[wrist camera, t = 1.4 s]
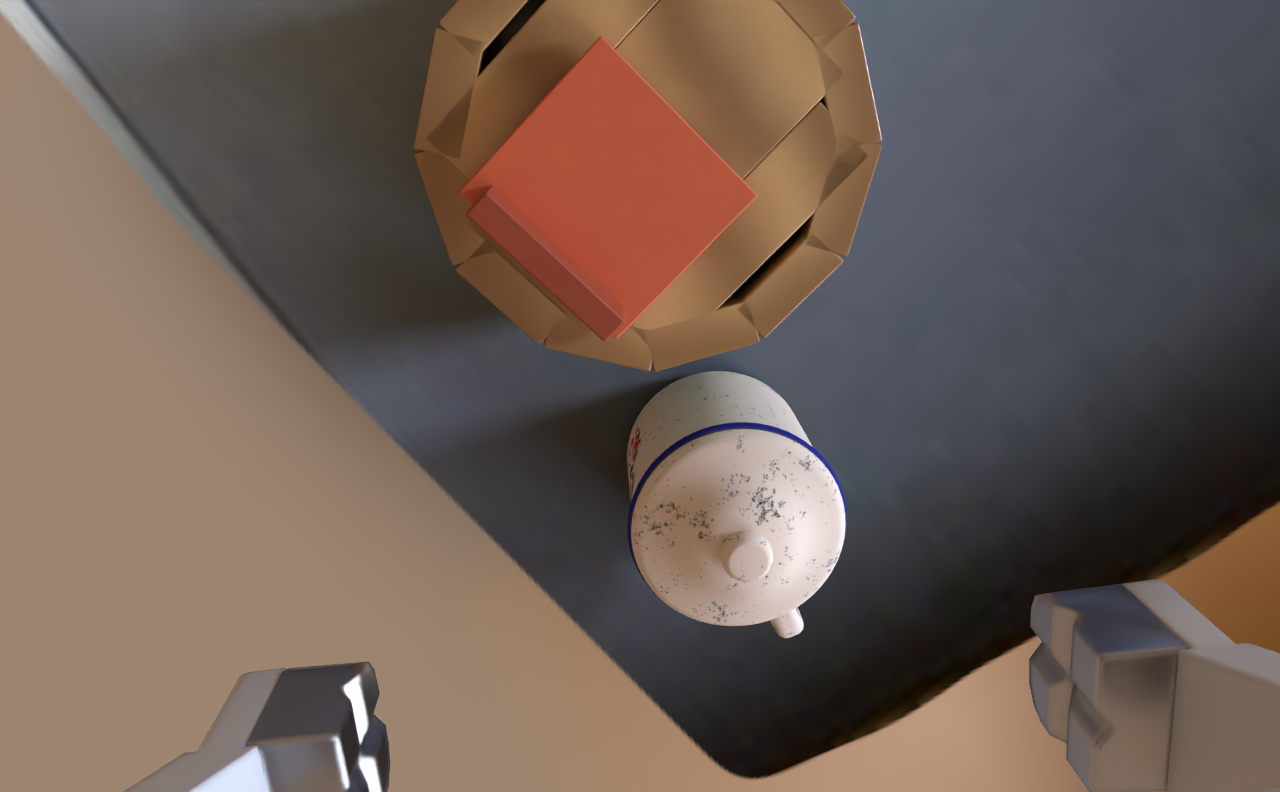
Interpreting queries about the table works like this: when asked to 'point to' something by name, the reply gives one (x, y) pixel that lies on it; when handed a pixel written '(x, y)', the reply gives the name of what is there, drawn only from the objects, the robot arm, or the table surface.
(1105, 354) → the table surface
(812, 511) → the teacup with lid
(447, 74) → the round tan lid
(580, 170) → the slider
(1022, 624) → the table surface
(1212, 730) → the robot arm
